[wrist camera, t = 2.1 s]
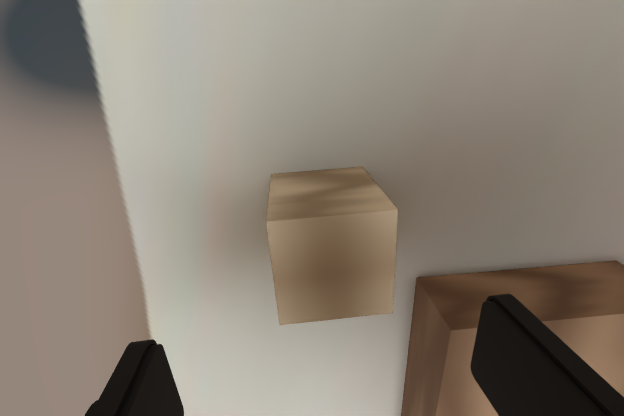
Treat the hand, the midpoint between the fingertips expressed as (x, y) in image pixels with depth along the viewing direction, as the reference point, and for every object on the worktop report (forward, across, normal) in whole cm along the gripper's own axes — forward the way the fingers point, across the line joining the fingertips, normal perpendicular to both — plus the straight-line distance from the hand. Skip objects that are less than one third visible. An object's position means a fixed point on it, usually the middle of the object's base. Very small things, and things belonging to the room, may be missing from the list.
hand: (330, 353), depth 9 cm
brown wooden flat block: (+10, -14, +13) cm, 21 cm away
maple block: (+10, -1, 0) cm, 10 cm away
